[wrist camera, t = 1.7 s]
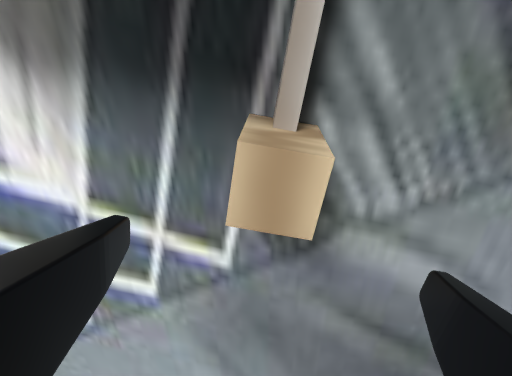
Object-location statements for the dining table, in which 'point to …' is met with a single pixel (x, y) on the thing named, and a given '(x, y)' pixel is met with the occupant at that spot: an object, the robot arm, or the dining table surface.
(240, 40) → the dining table surface
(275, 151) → the wooden mallet
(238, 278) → the dining table surface
